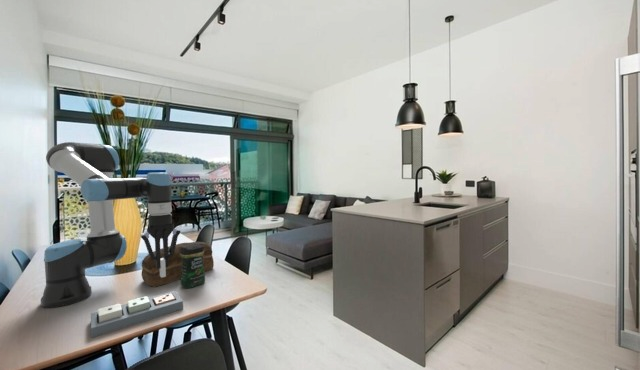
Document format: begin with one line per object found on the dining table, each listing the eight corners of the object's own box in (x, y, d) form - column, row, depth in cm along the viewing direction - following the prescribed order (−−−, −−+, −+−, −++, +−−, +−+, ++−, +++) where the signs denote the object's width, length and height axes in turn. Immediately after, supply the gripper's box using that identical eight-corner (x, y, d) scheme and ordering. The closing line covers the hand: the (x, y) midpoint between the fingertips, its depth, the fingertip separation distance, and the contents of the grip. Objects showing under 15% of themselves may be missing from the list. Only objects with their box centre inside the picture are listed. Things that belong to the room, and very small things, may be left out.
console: (91, 337, 82) (90, 328, 82) (91, 321, 91) (90, 313, 91) (183, 308, 99) (182, 300, 99) (175, 297, 108) (175, 290, 108)
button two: (129, 314, 91) (129, 306, 91) (127, 308, 96) (127, 300, 95) (150, 308, 95) (149, 301, 95) (147, 302, 99) (147, 295, 99)
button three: (156, 310, 96) (156, 303, 96) (153, 304, 101) (153, 297, 101) (175, 304, 100) (174, 297, 100) (171, 299, 105) (171, 292, 105)
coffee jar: (186, 290, 115) (185, 248, 114) (178, 285, 120) (176, 245, 119) (208, 283, 123) (206, 243, 122) (199, 279, 128) (198, 240, 127)
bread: (138, 281, 126) (136, 248, 125) (203, 263, 151) (202, 235, 150) (150, 289, 117) (148, 254, 116) (217, 268, 142) (216, 239, 141)
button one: (99, 323, 86) (98, 315, 86) (98, 316, 90) (98, 308, 90) (122, 316, 90) (121, 308, 90) (120, 310, 94) (120, 302, 94)
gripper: (140, 217, 92) (143, 284, 93) (182, 213, 100) (184, 274, 102) (137, 214, 98) (140, 277, 99) (177, 211, 106) (179, 269, 107)
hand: (162, 276), depth 100 cm, fingers closed
